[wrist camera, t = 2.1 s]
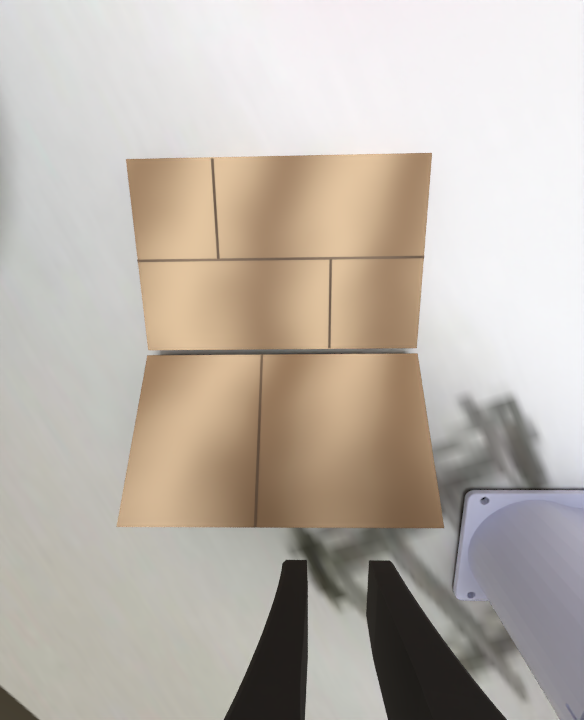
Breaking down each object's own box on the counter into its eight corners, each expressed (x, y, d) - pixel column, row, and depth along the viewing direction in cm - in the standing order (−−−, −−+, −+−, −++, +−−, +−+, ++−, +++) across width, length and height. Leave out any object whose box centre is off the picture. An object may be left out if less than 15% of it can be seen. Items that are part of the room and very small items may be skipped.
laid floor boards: (422, 162, 16) (432, 152, 15) (408, 343, 18) (416, 348, 17) (138, 168, 16) (125, 158, 15) (158, 345, 18) (147, 350, 17)
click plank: (409, 361, 18) (417, 353, 17) (433, 525, 15) (444, 528, 14) (156, 363, 18) (147, 355, 17) (130, 523, 15) (116, 526, 14)
